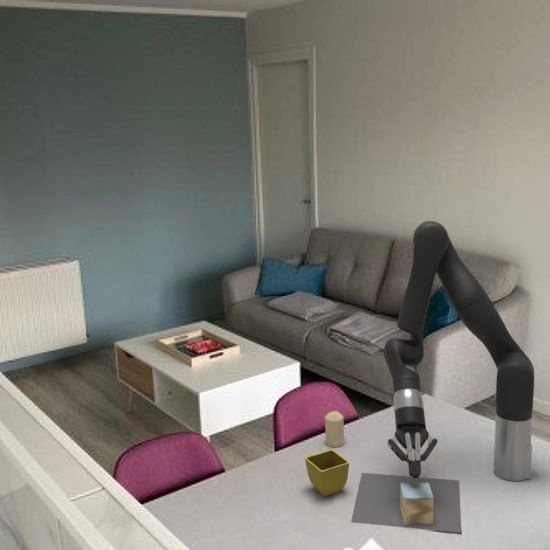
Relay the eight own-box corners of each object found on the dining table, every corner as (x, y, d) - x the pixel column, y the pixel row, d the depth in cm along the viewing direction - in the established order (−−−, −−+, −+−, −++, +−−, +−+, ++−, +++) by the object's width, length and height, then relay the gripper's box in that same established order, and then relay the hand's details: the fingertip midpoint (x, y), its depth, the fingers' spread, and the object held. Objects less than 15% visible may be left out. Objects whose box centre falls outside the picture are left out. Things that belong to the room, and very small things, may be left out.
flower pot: (322, 503, 178) (321, 471, 176) (305, 487, 186) (304, 457, 184) (350, 493, 182) (350, 462, 180) (332, 478, 190) (332, 448, 188)
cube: (433, 498, 165) (433, 524, 167) (428, 482, 172) (428, 507, 174) (403, 498, 166) (403, 524, 167) (400, 482, 172) (400, 508, 174)
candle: (342, 448, 207) (342, 417, 205) (324, 446, 208) (323, 416, 206) (344, 439, 212) (344, 409, 210) (327, 438, 213) (326, 408, 211)
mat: (458, 481, 186) (458, 480, 186) (461, 534, 163) (461, 532, 163) (361, 473, 192) (361, 472, 192) (351, 523, 169) (351, 522, 169)
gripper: (384, 405, 176) (389, 473, 167) (436, 404, 176) (445, 472, 166) (382, 415, 183) (387, 481, 174) (433, 414, 182) (440, 481, 173)
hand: (415, 477), depth 170 cm, fingers closed
